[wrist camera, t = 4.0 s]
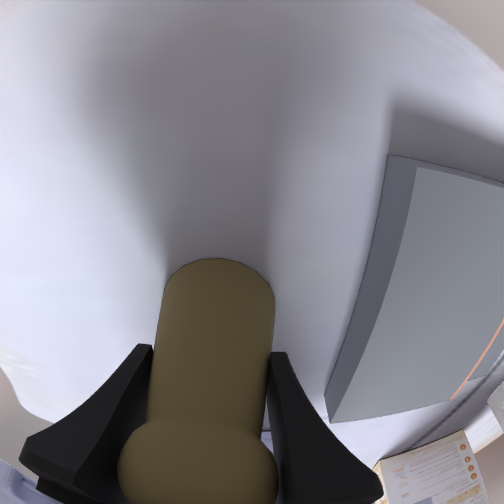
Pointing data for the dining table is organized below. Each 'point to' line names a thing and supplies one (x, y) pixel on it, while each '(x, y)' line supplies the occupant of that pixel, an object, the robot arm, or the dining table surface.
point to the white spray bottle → (498, 404)
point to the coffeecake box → (433, 474)
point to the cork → (206, 393)
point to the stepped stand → (424, 294)
